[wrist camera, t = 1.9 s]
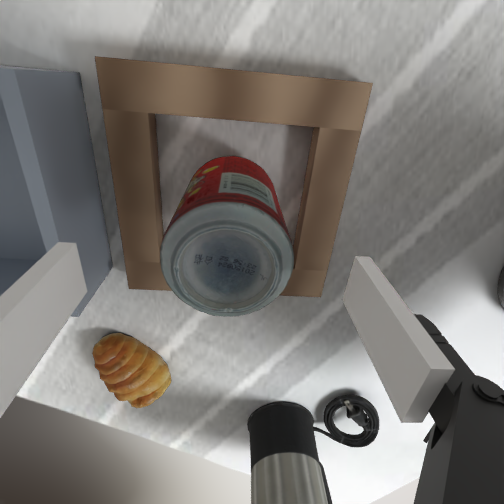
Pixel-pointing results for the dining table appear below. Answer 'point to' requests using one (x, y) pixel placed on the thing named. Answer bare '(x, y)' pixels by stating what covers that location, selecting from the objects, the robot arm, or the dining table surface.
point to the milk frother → (299, 449)
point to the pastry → (131, 369)
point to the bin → (48, 176)
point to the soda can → (228, 240)
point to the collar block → (230, 108)
